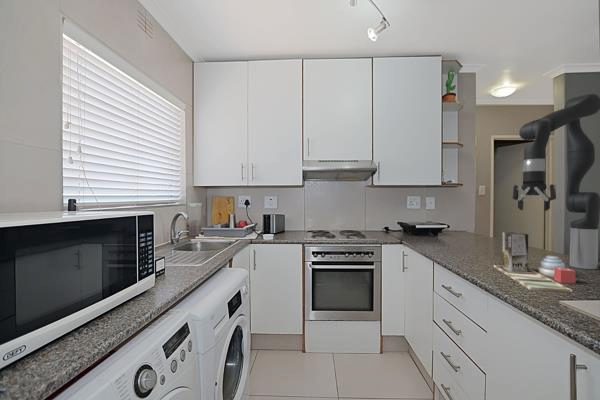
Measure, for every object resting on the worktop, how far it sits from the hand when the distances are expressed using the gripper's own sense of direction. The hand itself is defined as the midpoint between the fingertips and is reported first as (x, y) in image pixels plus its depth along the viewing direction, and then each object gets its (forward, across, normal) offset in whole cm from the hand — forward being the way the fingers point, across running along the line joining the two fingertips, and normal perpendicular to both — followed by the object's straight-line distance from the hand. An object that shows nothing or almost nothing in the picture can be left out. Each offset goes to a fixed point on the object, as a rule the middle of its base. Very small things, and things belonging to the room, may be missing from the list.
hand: (533, 210), depth 131 cm
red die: (+26, -12, +6) cm, 29 cm away
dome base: (+26, -6, -3) cm, 27 cm away
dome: (+23, -6, -3) cm, 24 cm away
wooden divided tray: (+26, -1, +10) cm, 28 cm away
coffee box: (+26, +6, +1) cm, 27 cm away
